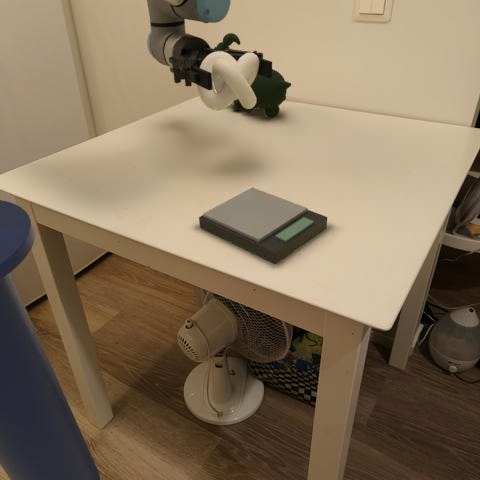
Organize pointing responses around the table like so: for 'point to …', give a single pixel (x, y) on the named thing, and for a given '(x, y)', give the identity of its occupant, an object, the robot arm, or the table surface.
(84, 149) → the table surface
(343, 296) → the table surface
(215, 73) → the white knot sculpture
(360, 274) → the table surface
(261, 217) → the scale
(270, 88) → the toy figurine
